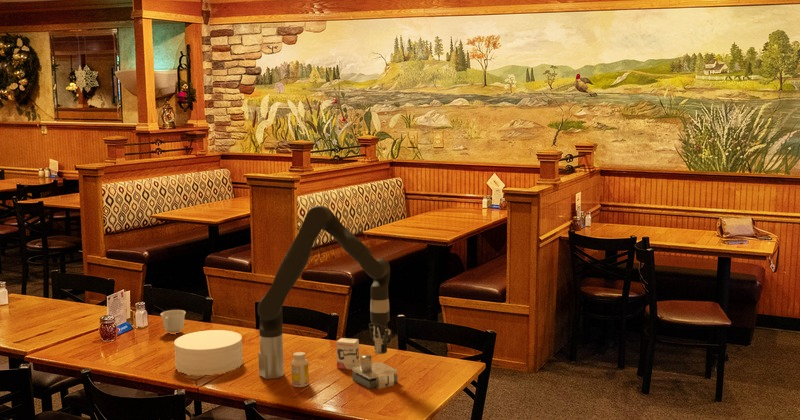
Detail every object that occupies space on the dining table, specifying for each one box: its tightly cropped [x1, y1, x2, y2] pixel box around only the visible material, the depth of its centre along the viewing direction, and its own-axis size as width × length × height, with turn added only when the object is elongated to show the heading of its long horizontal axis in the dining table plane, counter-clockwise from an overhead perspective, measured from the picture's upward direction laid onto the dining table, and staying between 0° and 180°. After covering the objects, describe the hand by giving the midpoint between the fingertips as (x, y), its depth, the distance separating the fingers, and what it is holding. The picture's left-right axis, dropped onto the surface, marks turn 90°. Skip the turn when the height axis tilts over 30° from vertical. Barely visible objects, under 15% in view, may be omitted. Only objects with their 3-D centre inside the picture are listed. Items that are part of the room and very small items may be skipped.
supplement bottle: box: [290, 351, 310, 388], centre depth 332 cm, size 7×7×13 cm
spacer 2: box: [374, 336, 386, 355], centre depth 336 cm, size 4×4×6 cm
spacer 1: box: [359, 354, 373, 373], centre depth 333 cm, size 4×4×6 cm
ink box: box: [336, 337, 360, 370], centre depth 352 cm, size 8×5×12 cm, turn 73°
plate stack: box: [173, 329, 244, 376], centre depth 358 cm, size 28×28×12 cm
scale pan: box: [352, 361, 398, 379], centre depth 335 cm, size 13×13×2 cm
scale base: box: [351, 371, 399, 390], centre depth 335 cm, size 13×15×5 cm
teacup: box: [160, 309, 187, 333], centre depth 405 cm, size 12×15×10 cm
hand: (380, 351), depth 336 cm, fingers closed on spacer 2, 4 cm apart
